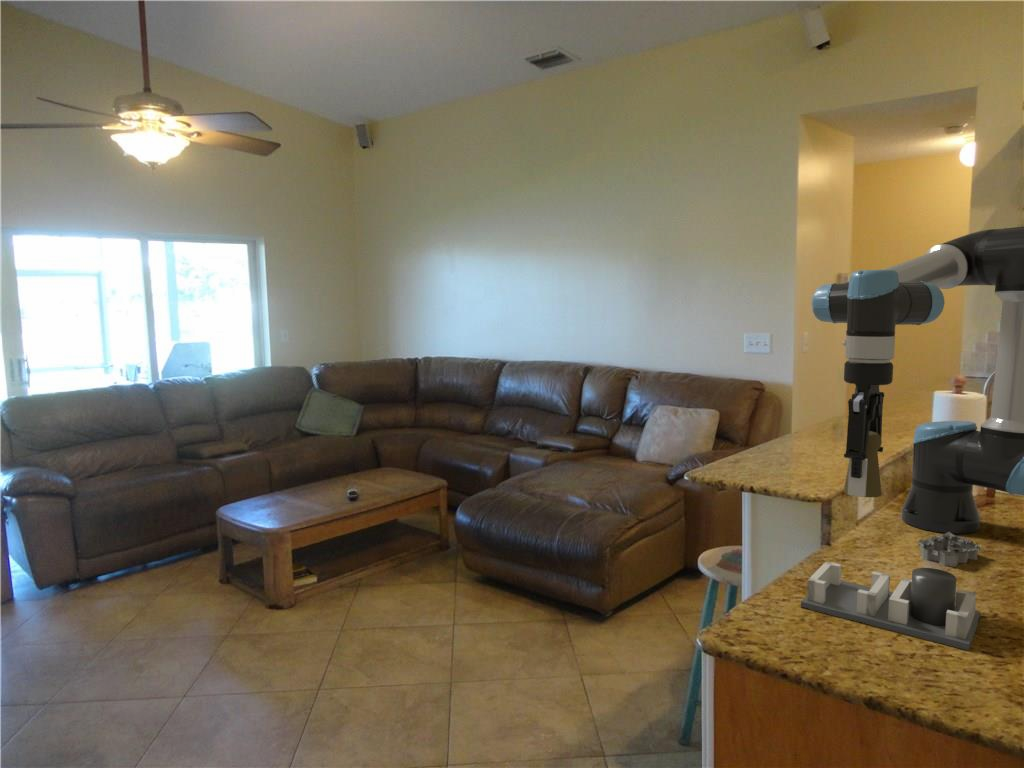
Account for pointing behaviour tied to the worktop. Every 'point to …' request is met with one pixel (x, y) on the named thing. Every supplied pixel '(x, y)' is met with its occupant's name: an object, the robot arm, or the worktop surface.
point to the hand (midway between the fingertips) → (861, 491)
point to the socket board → (899, 604)
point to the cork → (871, 467)
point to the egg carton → (956, 548)
